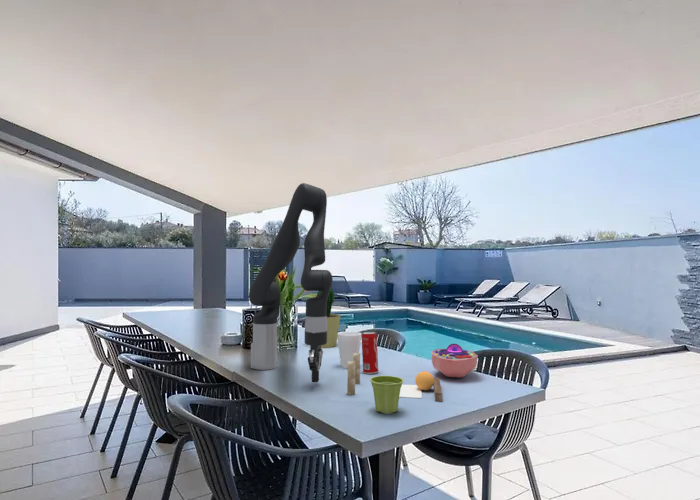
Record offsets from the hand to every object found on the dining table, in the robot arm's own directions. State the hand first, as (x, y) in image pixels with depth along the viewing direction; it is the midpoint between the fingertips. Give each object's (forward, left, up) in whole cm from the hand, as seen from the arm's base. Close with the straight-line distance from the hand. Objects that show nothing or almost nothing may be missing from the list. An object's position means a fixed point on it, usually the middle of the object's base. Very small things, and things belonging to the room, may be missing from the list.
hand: (315, 381), depth 153 cm
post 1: (+13, -6, -2) cm, 15 cm away
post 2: (+13, +6, -2) cm, 15 cm away
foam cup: (+7, +30, -2) cm, 31 cm away
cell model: (+47, +23, -2) cm, 52 cm away
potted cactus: (-11, +70, -2) cm, 71 cm away
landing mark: (+28, 0, -2) cm, 28 cm away
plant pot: (+25, -20, -2) cm, 32 cm away
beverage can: (+16, +22, -2) cm, 27 cm away
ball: (+36, +2, +2) cm, 36 cm away
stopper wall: (+40, 0, -2) cm, 40 cm away
